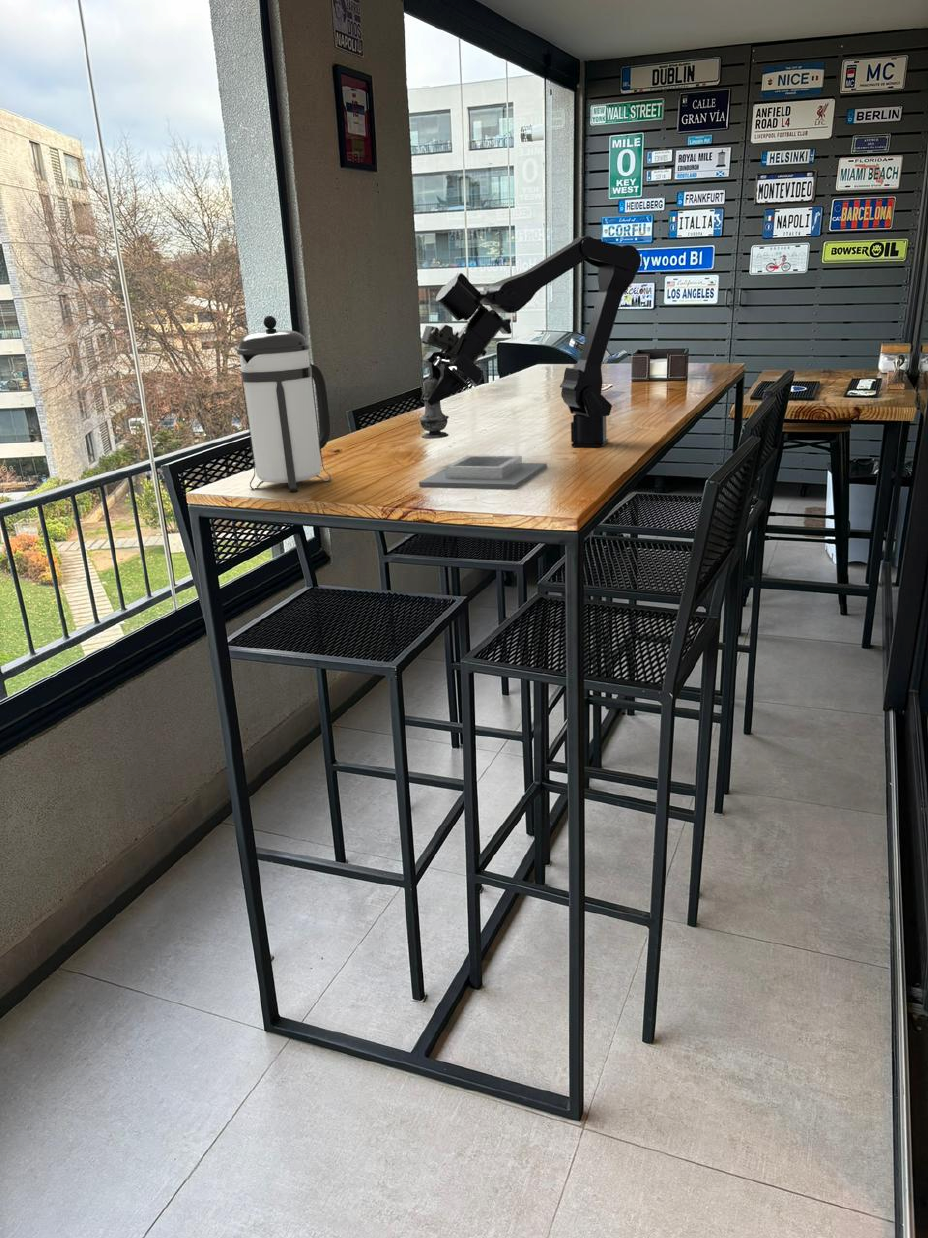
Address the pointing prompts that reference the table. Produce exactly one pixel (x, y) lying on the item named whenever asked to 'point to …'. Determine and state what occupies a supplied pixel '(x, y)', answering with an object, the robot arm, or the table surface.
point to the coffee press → (283, 406)
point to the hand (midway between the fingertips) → (425, 402)
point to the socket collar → (483, 467)
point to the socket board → (507, 483)
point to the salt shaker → (432, 413)
